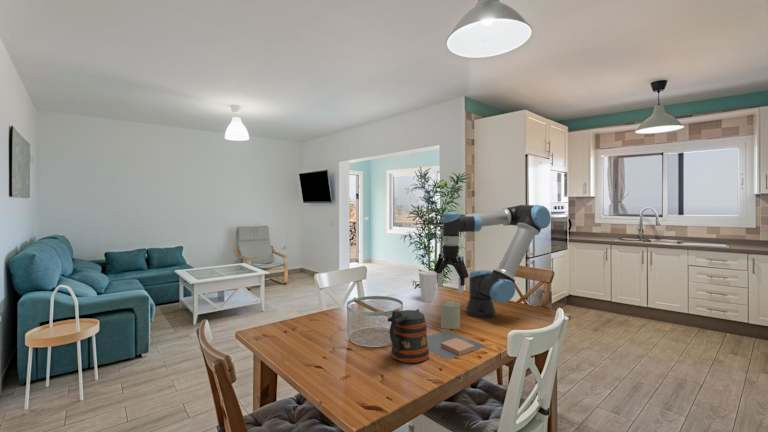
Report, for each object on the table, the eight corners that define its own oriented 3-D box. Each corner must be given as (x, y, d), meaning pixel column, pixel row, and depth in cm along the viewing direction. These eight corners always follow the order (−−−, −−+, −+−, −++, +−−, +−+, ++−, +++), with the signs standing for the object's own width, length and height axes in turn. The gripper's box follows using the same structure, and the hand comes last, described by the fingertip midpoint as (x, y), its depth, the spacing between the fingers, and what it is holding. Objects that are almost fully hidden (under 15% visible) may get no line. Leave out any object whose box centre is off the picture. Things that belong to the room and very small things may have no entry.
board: (447, 332, 165) (447, 330, 165) (486, 348, 147) (486, 346, 147) (410, 343, 152) (410, 341, 152) (448, 362, 134) (448, 359, 134)
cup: (418, 302, 214) (418, 274, 213) (419, 298, 224) (419, 270, 223) (437, 303, 212) (437, 274, 211) (437, 298, 222) (437, 271, 221)
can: (460, 331, 166) (460, 305, 165) (440, 330, 168) (440, 304, 167) (460, 324, 175) (460, 300, 174) (441, 323, 177) (441, 299, 176)
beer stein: (410, 372, 126) (410, 316, 125) (376, 362, 134) (376, 309, 134) (435, 354, 141) (435, 303, 141) (403, 345, 150) (403, 298, 149)
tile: (456, 337, 151) (440, 342, 145) (475, 345, 142) (459, 351, 137) (456, 342, 151) (440, 347, 146) (474, 350, 143) (459, 355, 137)
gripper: (427, 242, 178) (426, 285, 179) (465, 248, 157) (464, 296, 158) (438, 241, 182) (437, 283, 183) (476, 247, 162) (476, 293, 163)
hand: (450, 289), depth 171 cm, fingers open, 13 cm apart
